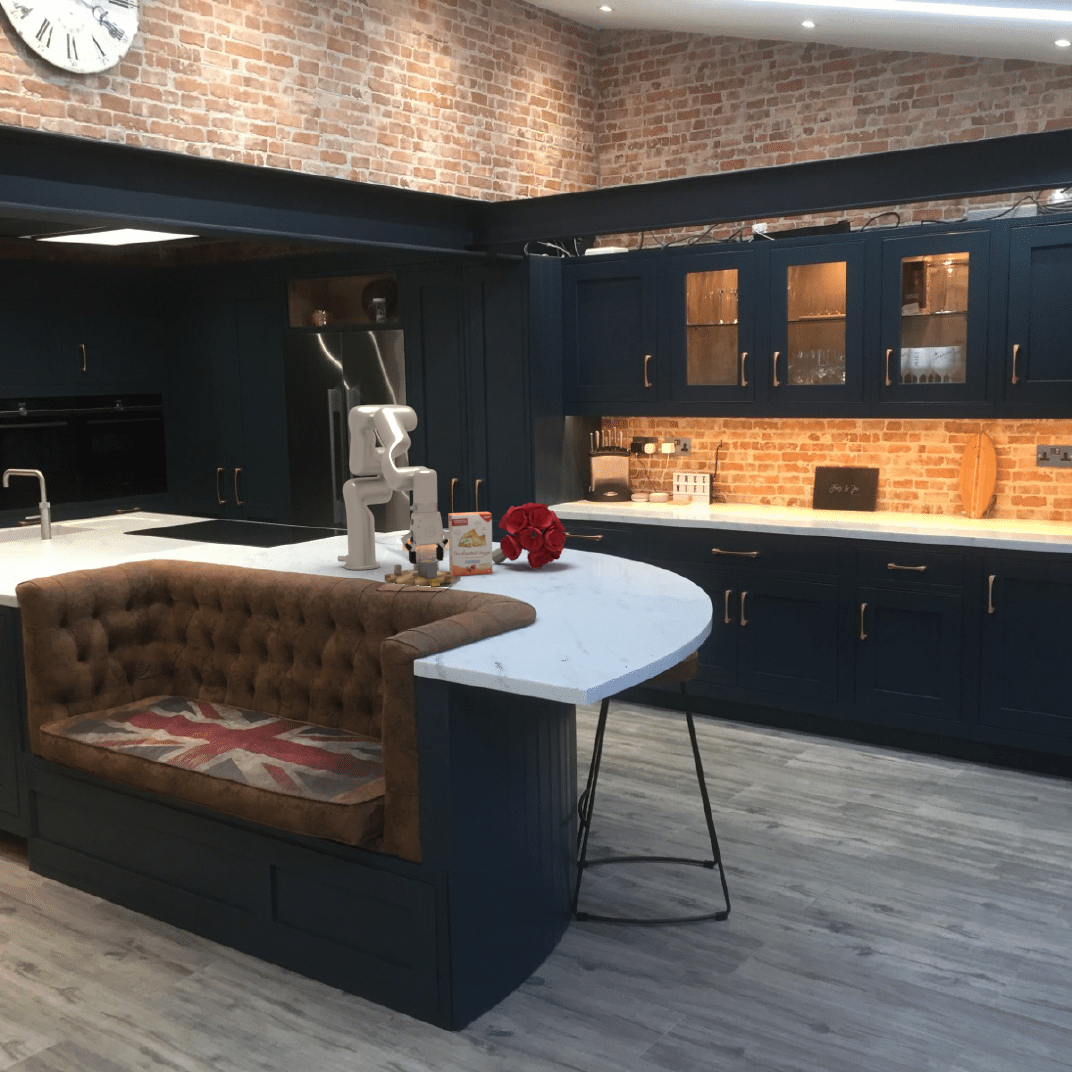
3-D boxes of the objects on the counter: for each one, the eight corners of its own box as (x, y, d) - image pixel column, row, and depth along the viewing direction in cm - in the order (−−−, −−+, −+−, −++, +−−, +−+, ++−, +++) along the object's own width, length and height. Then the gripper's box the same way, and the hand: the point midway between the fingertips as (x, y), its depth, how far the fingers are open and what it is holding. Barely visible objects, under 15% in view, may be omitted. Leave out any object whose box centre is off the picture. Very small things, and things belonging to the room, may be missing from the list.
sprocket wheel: (375, 587, 370) (374, 570, 369) (396, 574, 391) (395, 559, 391) (443, 588, 366) (442, 571, 365) (460, 575, 387) (460, 560, 387)
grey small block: (418, 576, 375) (417, 560, 374) (428, 575, 377) (427, 559, 376) (427, 578, 370) (427, 562, 369) (437, 577, 372) (436, 561, 371)
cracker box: (452, 576, 393) (451, 514, 390) (449, 573, 399) (447, 512, 396) (493, 574, 397) (492, 512, 394) (489, 571, 403) (488, 510, 400)
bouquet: (487, 589, 406) (549, 551, 390) (462, 527, 411) (523, 488, 395) (525, 583, 424) (586, 547, 407) (500, 525, 429) (560, 487, 412)
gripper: (406, 512, 362) (408, 566, 365) (455, 507, 372) (455, 560, 375) (395, 509, 369) (396, 562, 371) (443, 504, 378) (444, 557, 381)
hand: (426, 561), depth 373 cm, fingers open, 9 cm apart
